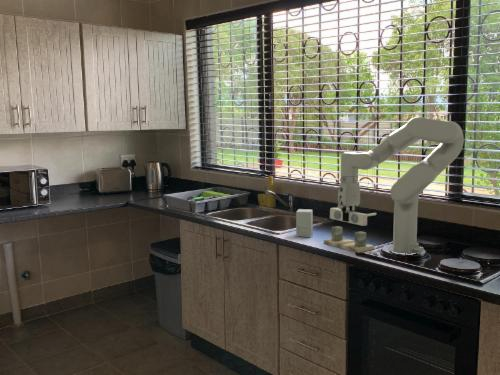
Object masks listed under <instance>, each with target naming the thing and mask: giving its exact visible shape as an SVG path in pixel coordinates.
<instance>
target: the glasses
mask: <svg viewBox="0 0 500 375" xmlns="http://www.w3.org/2000/svg"><path fill="white" fill-rule="evenodd" d="M348 213H349V221H348V222H346V221H343V212H342V210H341V209H340V208H338V207H330V209H329V219H332V220H336V221H340V222H344V223H348V224H353V225H358V226H362V227H363V226H368V217H372V216H376V215H377V212H371V213H362V212H358V211H355V212H353V211H349V210H348Z"/></svg>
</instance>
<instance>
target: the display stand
mask: <svg viewBox="0 0 500 375" xmlns="http://www.w3.org/2000/svg"><path fill="white" fill-rule="evenodd" d="M343 231H344V230H343V227H342V226H338V225H337V226H331V238H328V239H324V240H323V244H324V245H328V246H332V247H336V248H339V249H343V250H346V251H347V250H348V251H351V252H353V253H354V252H355V253H357V254H358V253H363V252H368V251H372V250H375V245H372V244H369V243H367V232H365V231H361V230H360V231H355V232H354V240H353V239H348V238H345V237H343Z"/></svg>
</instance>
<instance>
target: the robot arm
mask: <svg viewBox="0 0 500 375" xmlns="http://www.w3.org/2000/svg"><path fill="white" fill-rule="evenodd" d="M420 140H423V141H426V142H427V141H429V142H434V143H439V145H437V147H435V148H434V149H433V150H432V151H431V152H430V153H429V154H428V155H427V156H425V158H424V159H422V160H420V161H419V162H417V163H415V164H414V165H412V167H411V168H409V169H408V170H407V171H406V172H405V173H404V174H403V175H402V176H401V177H400V178H399V179H398V180H397V181H396V182H395V183H394V184H392V186H391V187H390V198H391V199H392V201H393V202H394V206H393V207H394V208H393V232H392V233H393V235H392V236H393V239H392V246H391V247H389V249H388V251H389V250H391V251H393V252H397V253H405V254H406V253H407V254H411V253H418V252H420V253H419V254H421V253H423V251H424V247H423V246H419V244H420V242H418V241H417V240H418V239H417V237H418V236H417V235H418V234H417V233H418V213H419V212H418V211H419V210H418V208H419V198H420V194H421V193H422V191H424V190H425V189H427V187H429V186H430V185H431V184H432V183H433V182H434V181H435V180H436V178H437V177H438V176H439V175H440V174H441V173H443V172H444V171H445V169H446V168H448V166H450V164H452V163H453V162H454V161H455V160H456V158H457V157H458V156H459V155H460V153H461V152H462V150H463V147H464V142H465V141H464V140H465V137H464V132H463V129H462V127H461V126H460V125H459V124H458V123H457V122H455V121H448V120H447V121H446V120H438V119H432V118H427V117H424V116H415V117H412V118H410V119H409V120H408V121H407V123H405V124H403V125H402V126H401V127H400V128H397V129H396V130H395V131H393V132H391V133H389V134H388V135H387V137H386V138H385V139H384V140H383V141H382V142H381V143H379V144H378V145H376V146H374V147H373V148H371V149H370V150H368V151H364V152H355V151H343V152H342V153H341V155H340V177H339V181H340V183H339V187H338V192H337V208H340V209H341V210H342V212H343V221H342V222H344V221H346V222H345V223H348V221H349V213H348V211H353V212H356V208H357V207H359V205H360V203H361V189H360V188H361V187H360V183H359V182H358V181H359V170H362V171H363V170H364V171H367V170H371V169H374V168H376V167H377V166H379V165H380V164H383V163H384V162H385V161H387V160H389V159H390V158H392V157H393V156H395V155H398V154H399V153H400V152H402V151H404V150H405V149H407V148H408V147H409V148H410V146H412V145H414V144H416V143H417V142H418V141H420Z"/></svg>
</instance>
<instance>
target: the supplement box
mask: <svg viewBox="0 0 500 375" xmlns="http://www.w3.org/2000/svg"><path fill="white" fill-rule="evenodd" d="M313 212H314V210H313V209H308V208H307V209H303V208H298V209H297V211H295V217H296V218H295V220H296V222H295V224H296V225H295V226H296V228H295V230H296V237H297V236H301V238H311V237H313V235H314V229H313V228H314V225H313V224H314V223H313V222H314V221H313V220H314V218H313V217H314V214H313Z"/></svg>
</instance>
